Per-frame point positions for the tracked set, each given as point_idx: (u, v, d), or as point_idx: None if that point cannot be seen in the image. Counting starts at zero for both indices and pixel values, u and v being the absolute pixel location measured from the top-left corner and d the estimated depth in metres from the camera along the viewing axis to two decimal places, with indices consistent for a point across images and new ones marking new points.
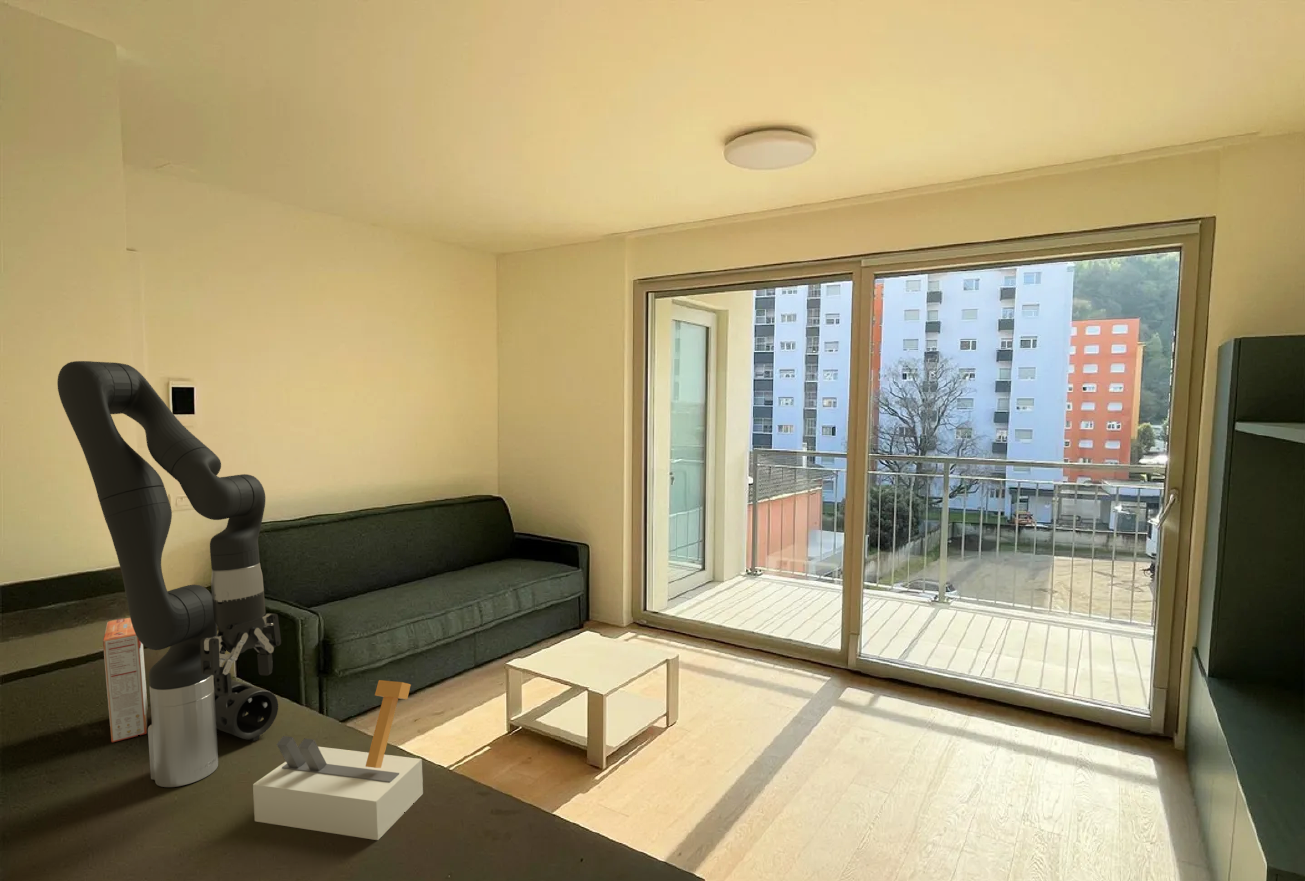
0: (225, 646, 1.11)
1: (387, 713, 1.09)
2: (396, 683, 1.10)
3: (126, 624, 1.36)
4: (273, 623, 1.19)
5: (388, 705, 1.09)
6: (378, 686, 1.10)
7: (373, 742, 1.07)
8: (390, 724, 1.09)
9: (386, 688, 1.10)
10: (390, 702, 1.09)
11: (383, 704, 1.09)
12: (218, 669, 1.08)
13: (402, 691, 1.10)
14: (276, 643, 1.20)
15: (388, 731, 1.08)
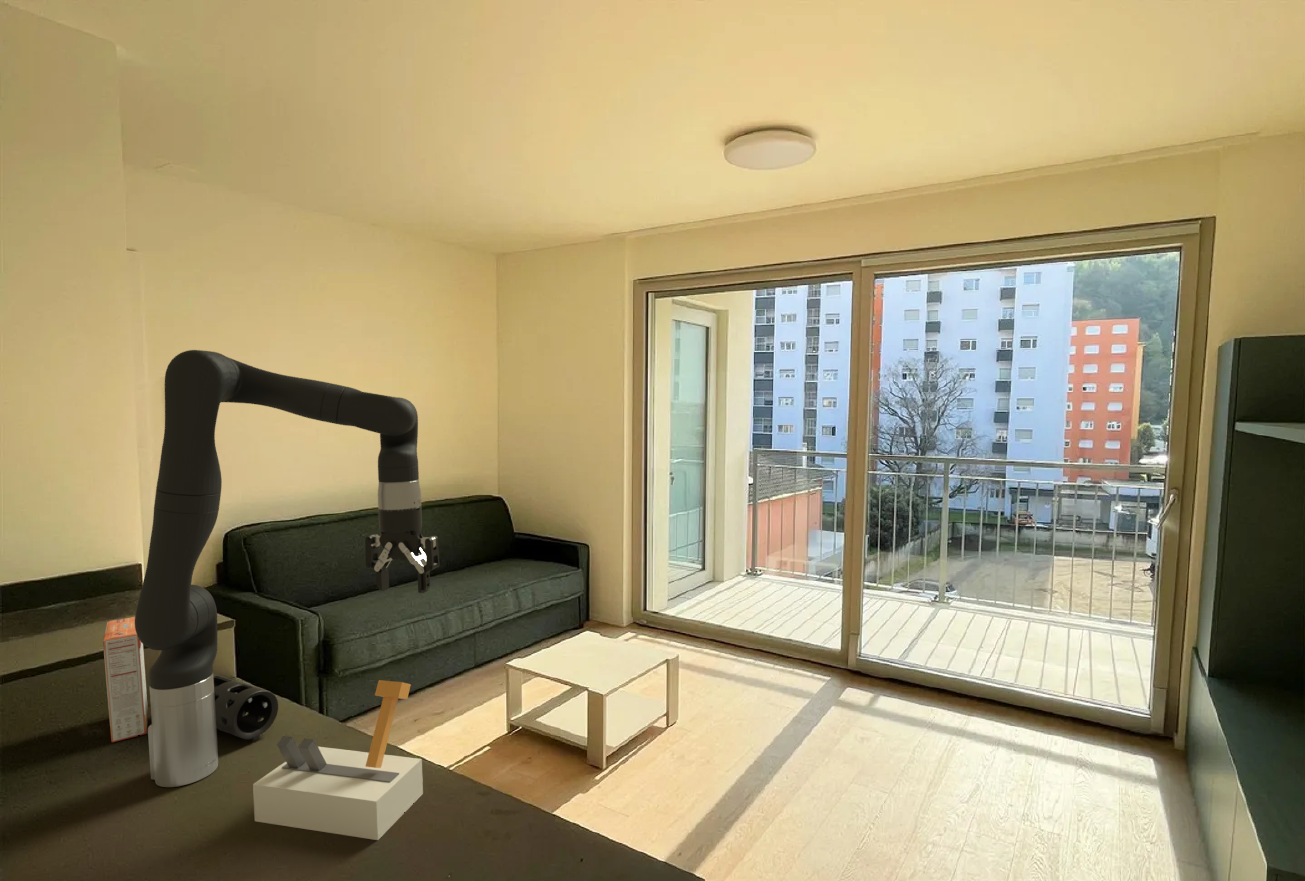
0: (414, 550, 1.23)
1: (387, 713, 1.09)
2: (396, 683, 1.10)
3: (126, 624, 1.36)
4: None
5: (388, 705, 1.09)
6: (378, 686, 1.10)
7: (373, 742, 1.07)
8: (390, 724, 1.09)
9: (386, 688, 1.10)
10: (390, 702, 1.09)
11: (383, 704, 1.09)
12: None
13: (402, 691, 1.10)
14: None
15: (388, 731, 1.08)
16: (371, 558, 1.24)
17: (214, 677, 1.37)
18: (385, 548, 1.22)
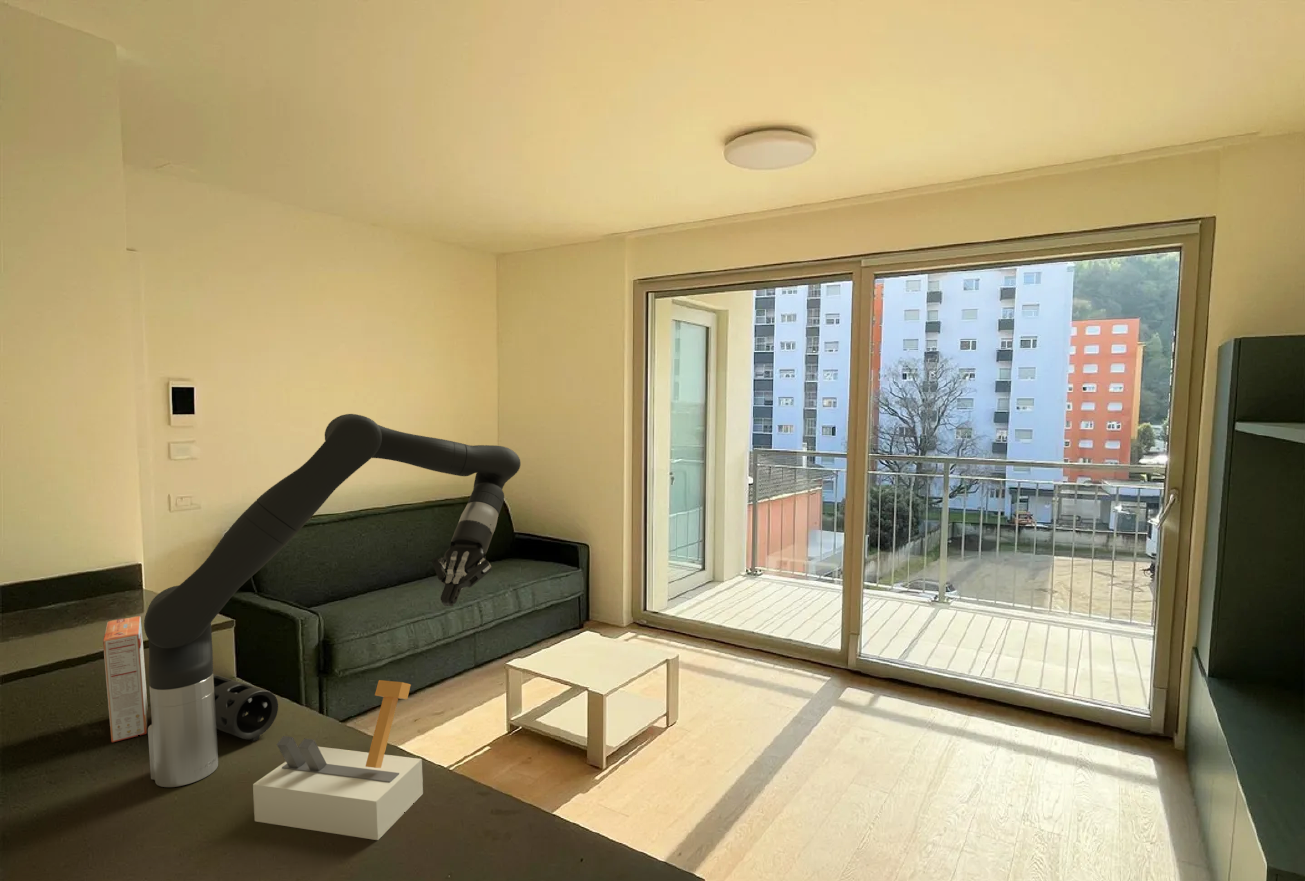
0: None
1: (387, 713, 1.09)
2: (396, 683, 1.10)
3: (126, 624, 1.36)
4: (443, 568, 1.35)
5: (388, 705, 1.09)
6: (378, 686, 1.10)
7: (373, 742, 1.07)
8: (390, 724, 1.09)
9: (386, 688, 1.10)
10: (390, 702, 1.09)
11: (383, 704, 1.09)
12: None
13: (402, 691, 1.10)
14: None
15: (388, 731, 1.08)
16: (442, 572, 1.31)
17: (214, 677, 1.37)
18: (451, 558, 1.32)
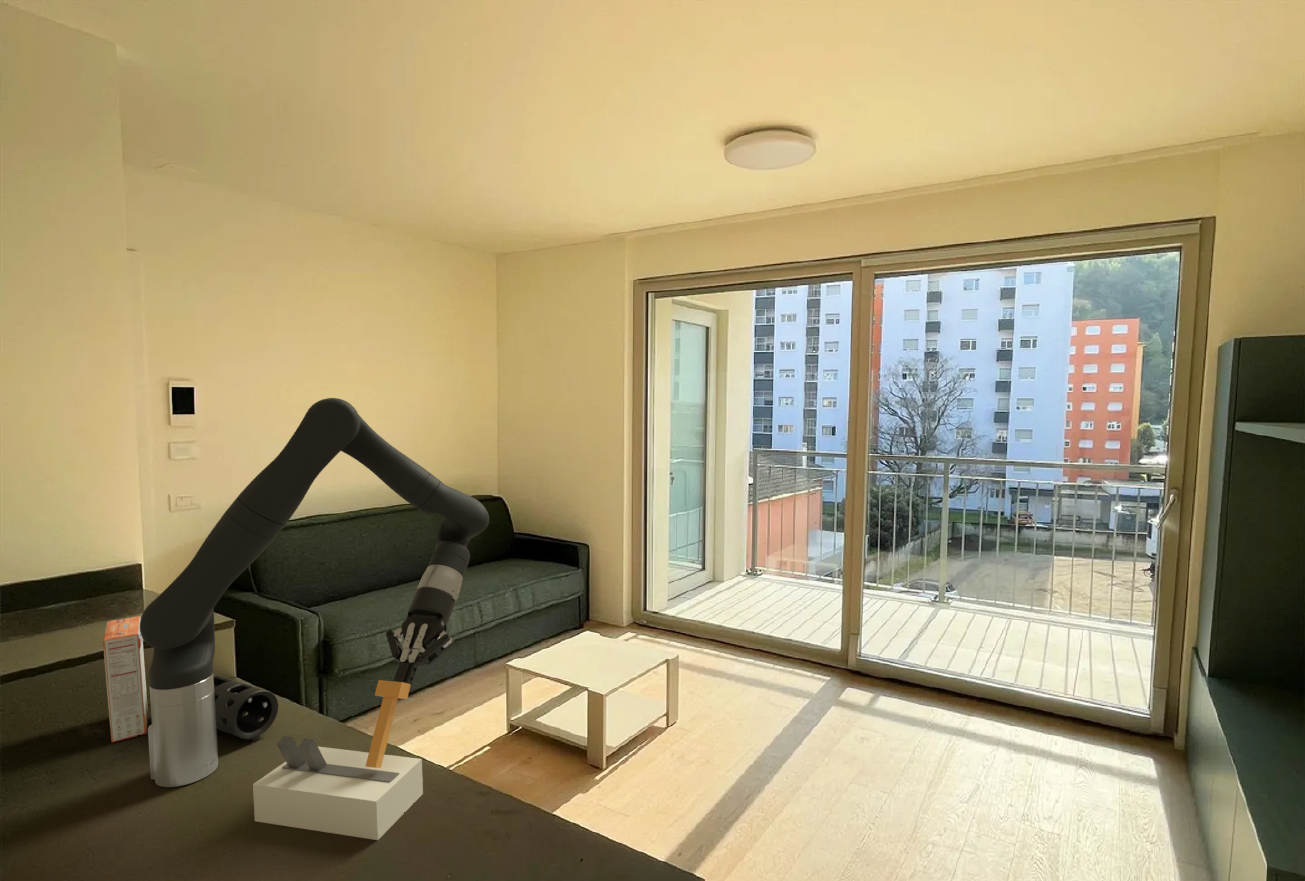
0: None
1: (387, 713, 1.09)
2: (396, 683, 1.10)
3: (126, 624, 1.36)
4: None
5: (388, 705, 1.09)
6: (378, 686, 1.10)
7: (373, 742, 1.07)
8: (390, 724, 1.09)
9: (386, 688, 1.10)
10: (390, 702, 1.09)
11: (383, 704, 1.09)
12: None
13: (402, 691, 1.10)
14: None
15: (388, 731, 1.08)
16: (397, 647, 1.17)
17: (214, 677, 1.37)
18: (408, 631, 1.18)
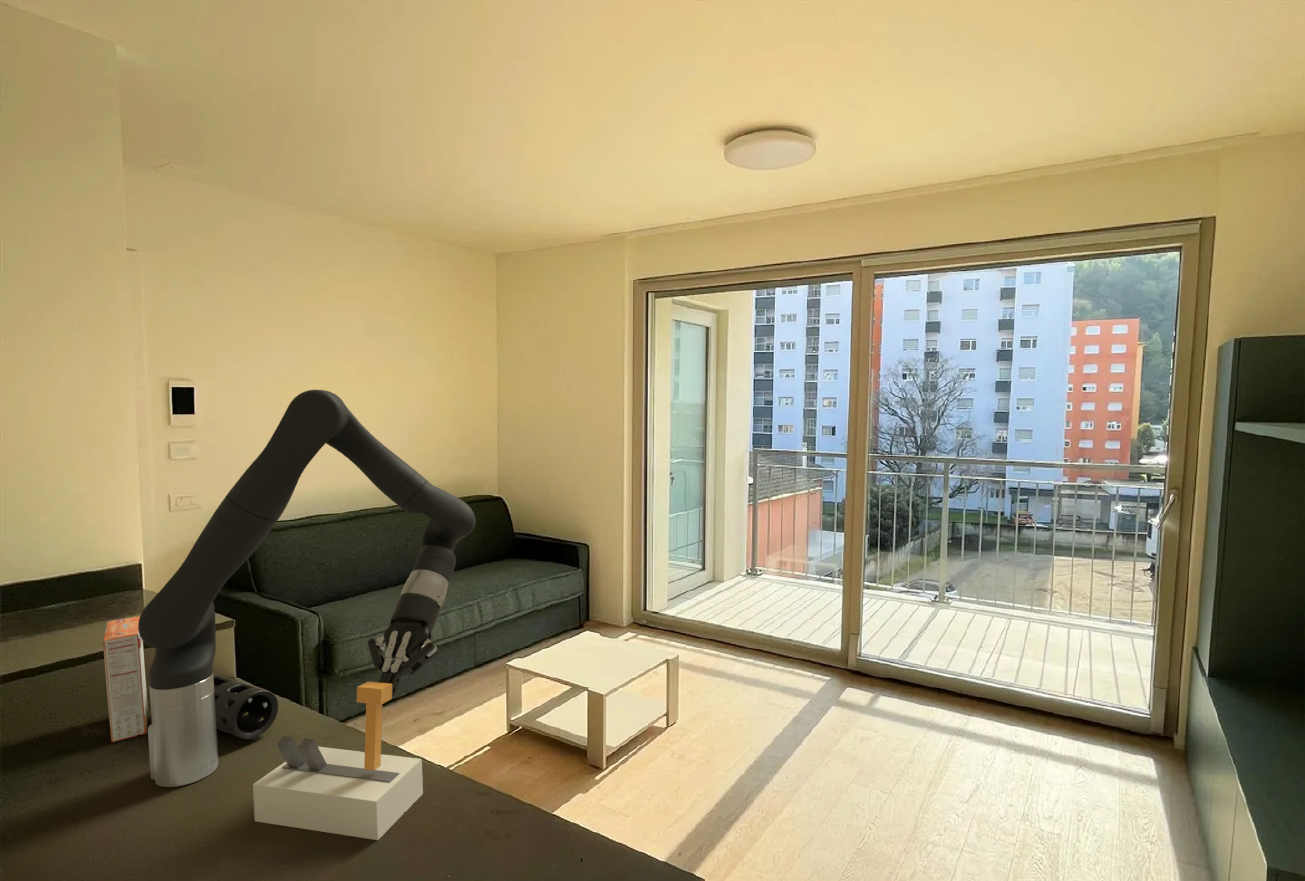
0: None
1: (374, 718, 1.05)
2: (376, 690, 1.05)
3: (126, 624, 1.36)
4: None
5: (373, 710, 1.05)
6: (358, 693, 1.05)
7: (366, 746, 1.05)
8: (380, 726, 1.06)
9: (367, 695, 1.05)
10: (374, 707, 1.05)
11: (368, 709, 1.06)
12: None
13: (384, 696, 1.05)
14: None
15: (379, 732, 1.06)
16: (379, 656, 1.12)
17: (214, 677, 1.37)
18: (390, 640, 1.13)
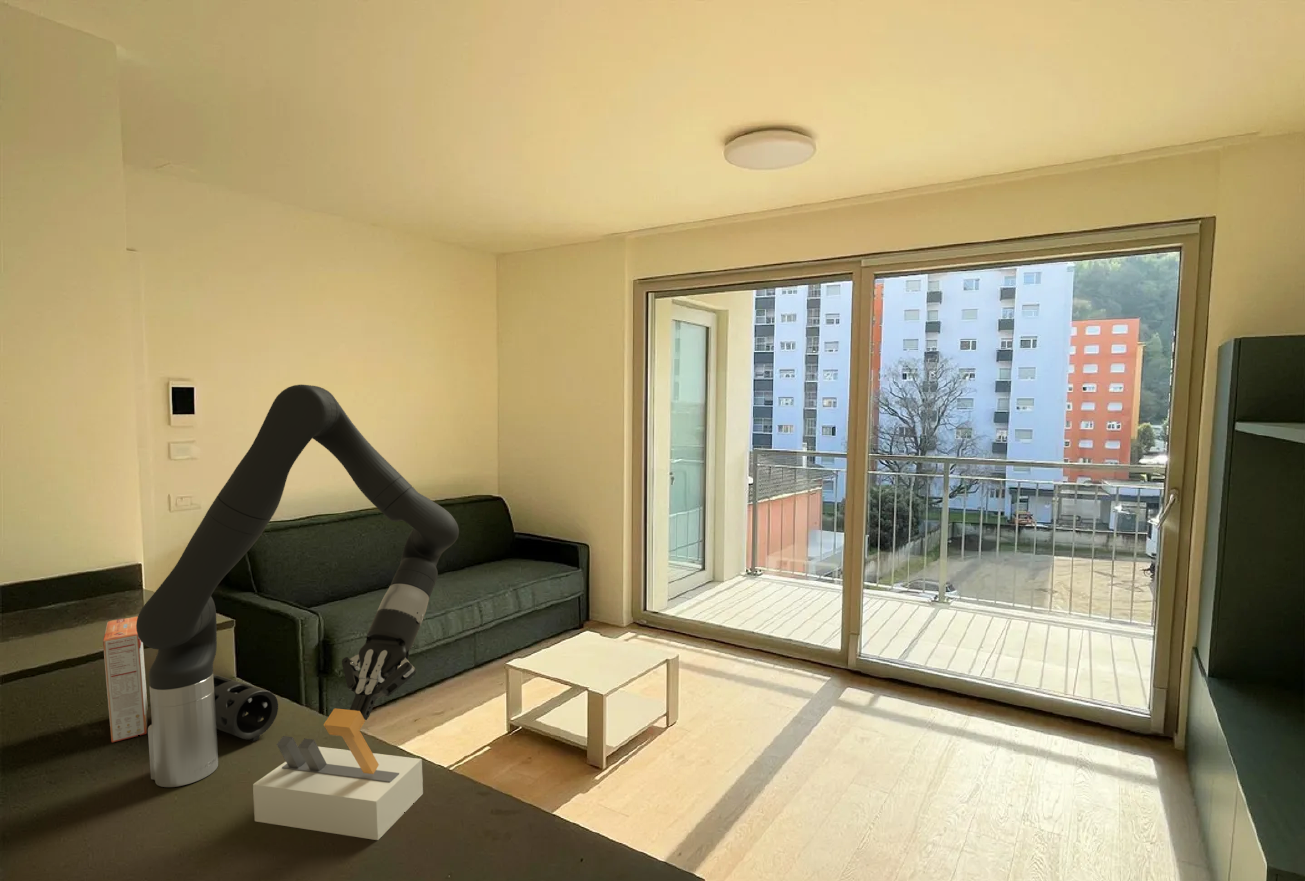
0: None
1: (353, 743, 1.01)
2: (344, 728, 0.98)
3: (126, 624, 1.36)
4: None
5: (350, 738, 1.00)
6: (327, 729, 0.99)
7: (356, 759, 1.03)
8: (363, 742, 1.02)
9: (337, 730, 0.98)
10: None
11: (344, 737, 1.00)
12: None
13: (355, 727, 0.99)
14: None
15: (365, 746, 1.03)
16: (353, 677, 1.06)
17: (214, 677, 1.37)
18: (365, 659, 1.06)
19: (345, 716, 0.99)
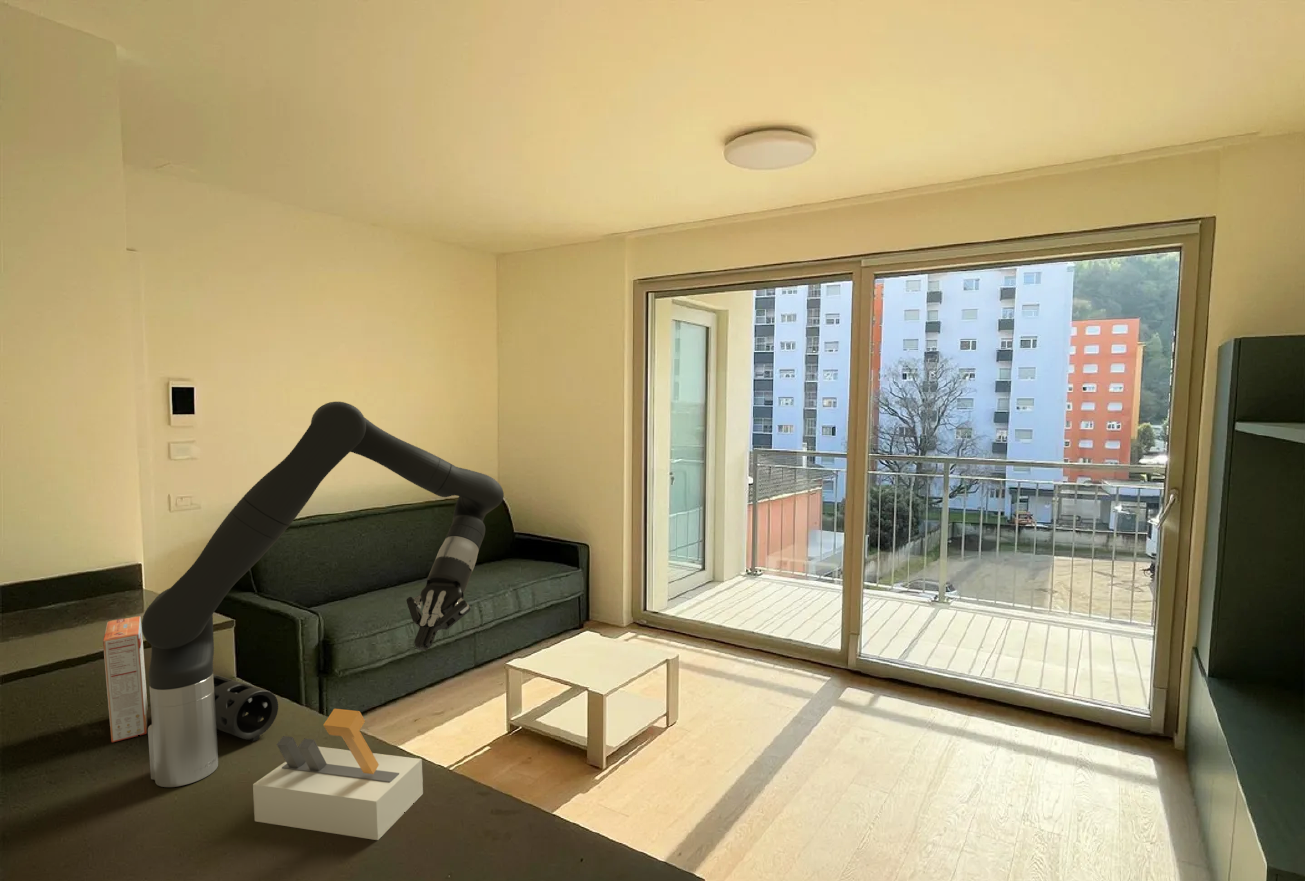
0: None
1: (353, 743, 1.01)
2: (344, 728, 0.98)
3: (126, 624, 1.36)
4: None
5: (349, 738, 1.00)
6: (327, 729, 0.99)
7: (356, 759, 1.03)
8: (363, 742, 1.02)
9: (336, 731, 0.98)
10: (350, 736, 1.00)
11: (344, 737, 1.00)
12: None
13: (355, 728, 0.99)
14: None
15: (365, 747, 1.03)
16: (417, 613, 1.23)
17: (214, 677, 1.37)
18: (427, 598, 1.24)
19: (345, 716, 0.99)
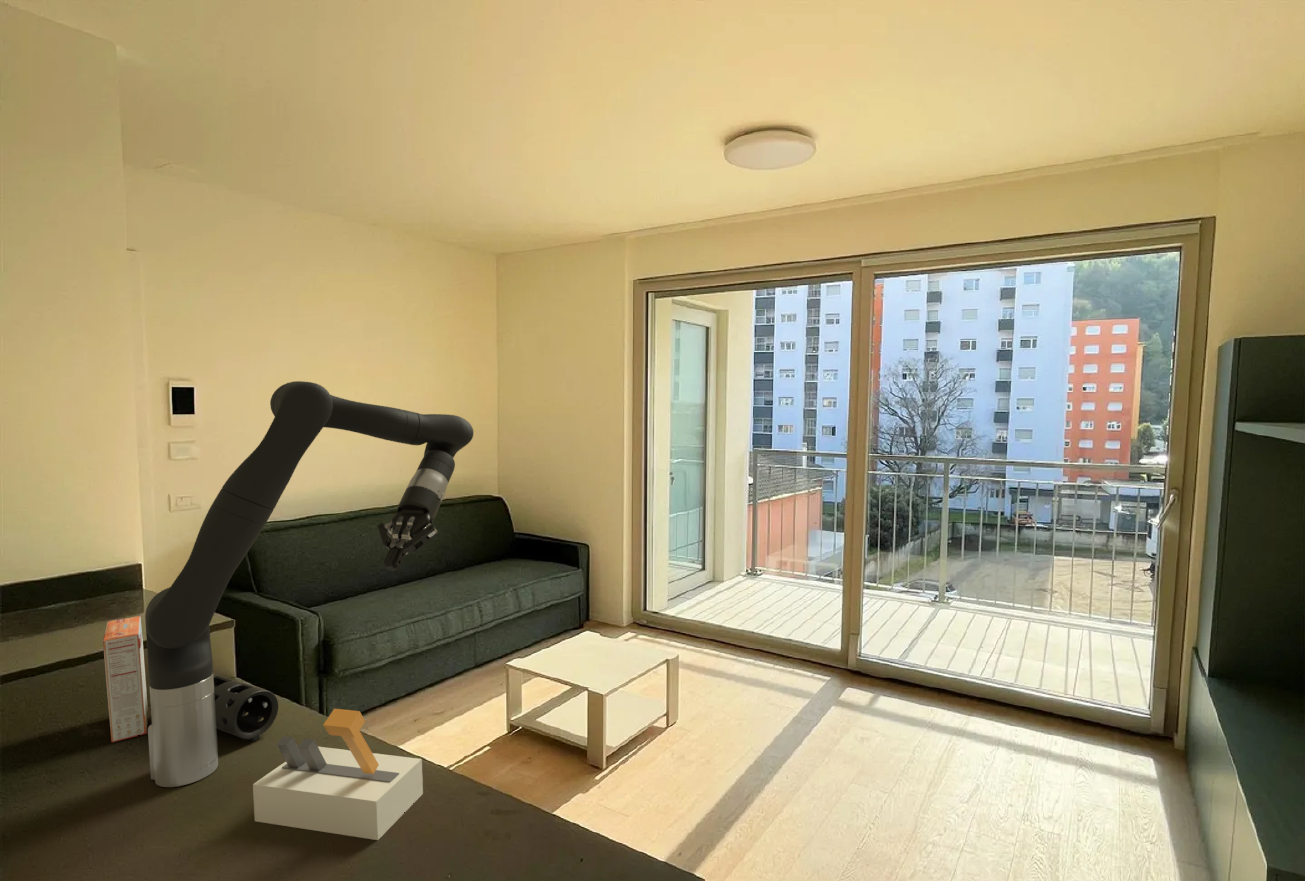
0: None
1: (353, 743, 1.01)
2: (344, 728, 0.98)
3: (126, 624, 1.36)
4: None
5: (349, 738, 1.00)
6: (327, 729, 0.99)
7: (356, 759, 1.03)
8: (363, 742, 1.02)
9: (336, 731, 0.98)
10: (350, 736, 1.00)
11: (344, 737, 1.00)
12: None
13: (355, 728, 0.99)
14: None
15: (365, 747, 1.03)
16: (387, 536, 1.31)
17: (214, 677, 1.37)
18: (397, 523, 1.32)
19: (345, 716, 0.99)
